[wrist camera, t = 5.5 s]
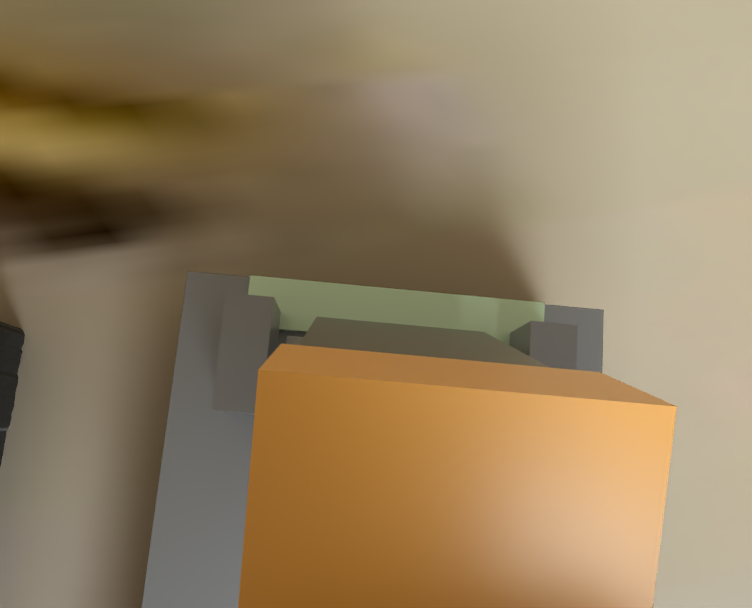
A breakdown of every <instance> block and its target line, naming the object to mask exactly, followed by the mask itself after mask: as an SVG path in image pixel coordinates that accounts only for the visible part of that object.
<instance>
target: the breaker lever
mask: <svg viewBox="0 0 752 608" xmlns="http://www.w3.org/2000/svg"><path fill="white" fill-rule="evenodd" d="M676 409H677V406H674V405H672V404H670V403H668V402H665V401H663V400H661V399H659V398H656V397H654V396H652V395H650V394H647V393H645V392H643V391H641V390H638V389H636V388H634V387H632V386H629V385H627V384H625V383H623V382H621V381H618V380H616V379H614V378H612V377H609V376H607V375H605V374H603V373H600V372H594V371H583V370H571V369H560V368H551V367H549V366H547V365H545V364H543V363H541V362H540V361H538V360H536V359H534V358H532V357H530V356H528V355H526V354H525V353H523V352H521V351H519V350H517V349H515V348H513V347H511V346H509V345H508V344H506V343H504V342H502V341H500V340H498V339H496V338H494V337H493V336H491V335H489V334H487V333H485V332H480V331H469V330H458V329H447V328H436V327H425V326H414V325H403V324H392V323H381V322H370V321H359V320H349V319H338V318H327V317H316V319H315V320H314V322H313V323H312V325H311V326H310V328H309V329H308V331H307V333H306V334H305V336H304V337H297V336H287V340H286V344H280V345H279V347H278V348H277V349H276V350H275V351H274V352H273V353H272V355H271V356H270V357H269V358H268V359H267V360H266V362H265V363H264V364H263V365H262V366H261V367H260V368H259V370H258V379H257V391H256V402H255V414H254V426H253V437H252V449H251V461H250V473H249V484H248V496H247V508H246V520H245V531H244V543H243V555H242V567H241V578H240V590H239V602H238V608H653V601H654V592H655V584H656V576H657V567H658V559H659V551H660V542H661V534H662V526H663V517H664V509H665V501H666V492H667V484H668V476H669V467H670V459H671V451H672V442H673V434H674V426H675V417H676Z"/></svg>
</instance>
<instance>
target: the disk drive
mask: <svg viewBox="0 0 752 608" xmlns="http://www.w3.org/2000/svg"><path fill="white" fill-rule="evenodd" d="M24 336H25V335H24V332H23V330H22V329H20V328H17V327H14V326H11V325H8V324H6V323H3V322H0V465H1V461H2V456H3V449H4V443H5V438H6V431H7V428H8V427H9V425H10V421H11V413H12V411H13V407H14V400H15V391H16V387H17V383H18V375H17V372H18V368H19V364H20V359H21V354H22V350H21V347H22V345H23V343H24Z"/></svg>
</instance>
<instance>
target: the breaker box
mask: <svg viewBox="0 0 752 608" xmlns="http://www.w3.org/2000/svg"><path fill="white" fill-rule="evenodd" d="M603 313H604V310H600V309H589V308H578V307H568V306H557V305H546V304H545V303H543V302H533V301H522V300H511V299H500V298H490V297H479V296H468V295H457V294H447V293H436V292H425V291H414V290H404V289H393V288H382V287H371V286H361V285H350V284H339V283H328V282H318V281H307V280H296V279H286V278H275V277H264V276H253V275H250V277H245V276H234V275H223V274H213V273H202V272H191V271H188V272H187V279H186V287H185V294H184V301H183V309H182V316H181V323H180V331H179V338H178V345H177V352H176V360H175V367H174V374H173V382H172V389H171V396H170V404H169V411H168V418H167V425H166V433H165V440H164V447H163V455H162V462H161V469H160V477H159V484H158V491H157V499H156V506H155V513H154V520H153V528H152V535H151V542H150V550H149V557H148V564H147V572H146V579H145V586H144V593H143V601H142V608H238V602H239V590H240V578H241V567H242V555H243V543H244V531H245V520H246V508H247V496H248V484H249V473H250V461H251V449H252V437H253V426H254V414H255V402H256V391H257V379H258V370H259V368H260V367H261V366H262V365H263V364H264V363H265V362H266V360H267V359H268V358H269V357H270V356H271V355H272V353H273V352H274V351H275V350H276V349H277V348H278V347H279V345H280V344H286V340H287V336H297V337H304V336H305V334H306V333H307V331H308V329H309V328H310V326H311V325H312V323H313V322H314V320H315V319H316V317H327V318H338V319H349V320H359V321H370V322H381V323H392V324H403V325H414V326H425V327H436V328H447V329H458V330H469V331H480V332H485V333H487V334H489V335H491V336H493V337H494V338H496V339H498V340H500V341H502V342H504V343H506V344H508V345H509V346H511V347H513V348H515V349H517V350H519V351H521V352H523V353H525V354H526V355H528V356H530V357H532V358H534V359H536V360H538V361H540V362H541V363H543V364H545V365H547V366H549V367H551V368H560V369H571V370H583V371H594V372H600V373H602V357H603Z"/></svg>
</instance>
